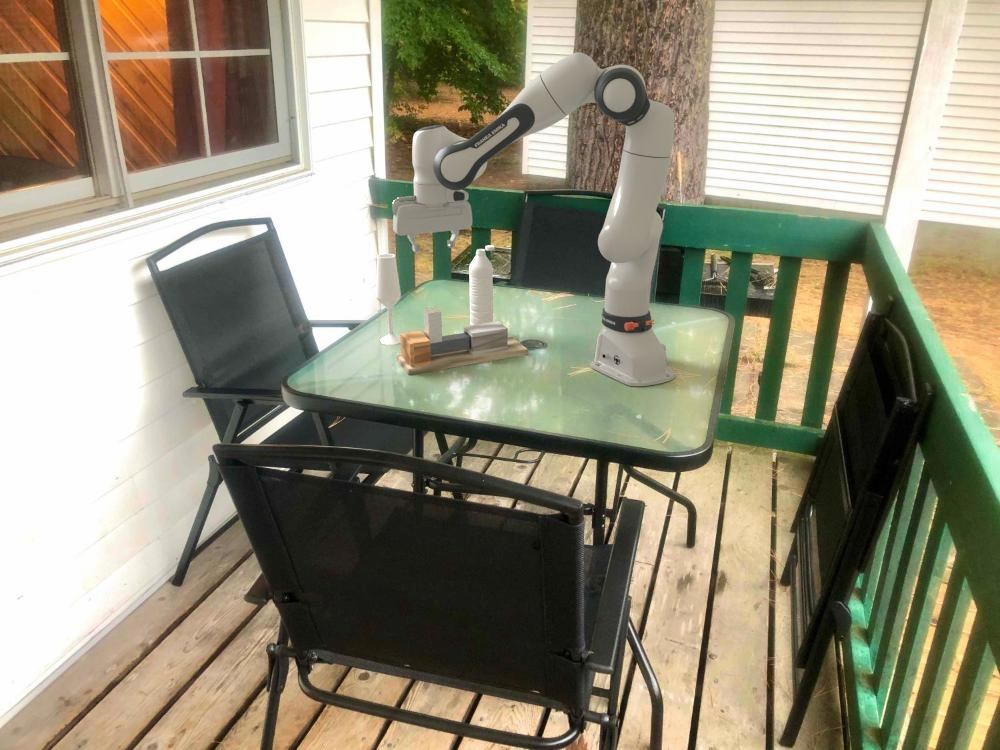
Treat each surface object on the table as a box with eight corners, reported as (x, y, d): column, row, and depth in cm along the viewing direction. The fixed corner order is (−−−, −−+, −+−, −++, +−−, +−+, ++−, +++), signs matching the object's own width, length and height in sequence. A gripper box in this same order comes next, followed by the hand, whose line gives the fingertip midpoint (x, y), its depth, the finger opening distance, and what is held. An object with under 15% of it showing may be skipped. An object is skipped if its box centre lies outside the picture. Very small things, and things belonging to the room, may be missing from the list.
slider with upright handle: (495, 345, 202) (495, 304, 198) (415, 358, 194) (413, 315, 190) (489, 340, 206) (489, 299, 201) (410, 353, 198) (408, 310, 193)
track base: (527, 354, 204) (528, 327, 201) (408, 374, 192) (407, 346, 189) (511, 342, 212) (512, 315, 209) (396, 360, 200) (395, 333, 197)
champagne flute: (387, 346, 209) (382, 260, 200) (374, 340, 214) (368, 255, 205) (408, 340, 214) (403, 256, 204) (394, 334, 218) (389, 251, 209)
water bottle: (484, 342, 212) (483, 253, 202) (465, 337, 216) (463, 250, 206) (502, 333, 219) (502, 246, 209) (483, 328, 222) (482, 243, 212)
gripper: (395, 199, 183) (398, 256, 189) (474, 192, 191) (475, 247, 197) (387, 195, 188) (390, 251, 194) (464, 189, 196) (465, 242, 202)
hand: (434, 249), depth 195 cm, fingers open, 8 cm apart
